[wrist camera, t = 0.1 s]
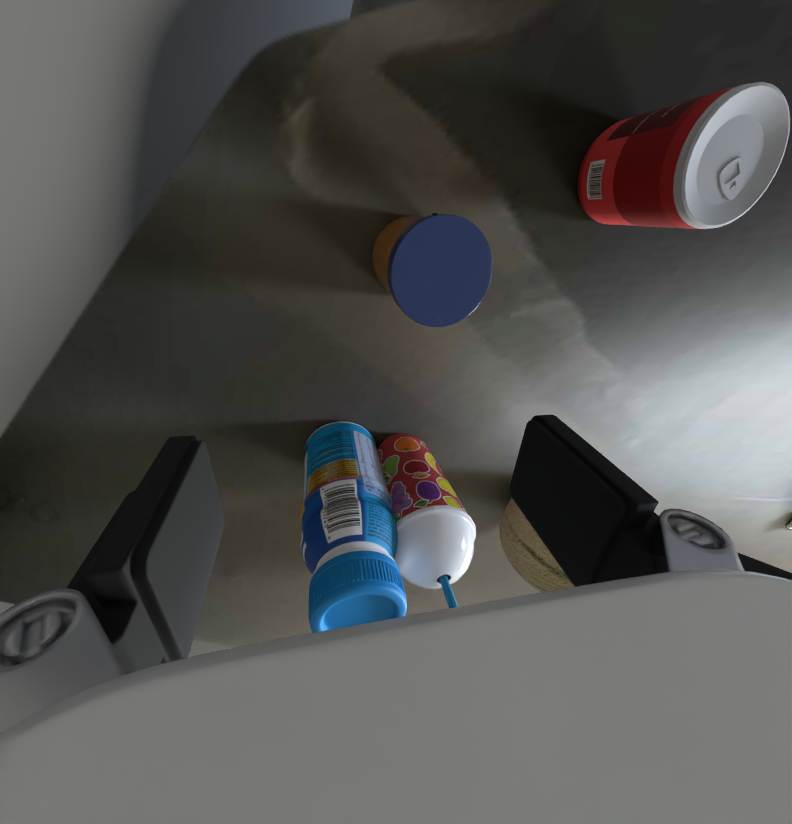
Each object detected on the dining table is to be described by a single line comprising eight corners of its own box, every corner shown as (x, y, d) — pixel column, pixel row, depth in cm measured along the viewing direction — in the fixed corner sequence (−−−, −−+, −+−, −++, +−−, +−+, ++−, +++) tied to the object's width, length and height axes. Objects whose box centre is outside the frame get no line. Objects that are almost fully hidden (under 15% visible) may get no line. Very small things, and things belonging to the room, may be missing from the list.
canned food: (602, 241, 35) (708, 253, 26) (557, 181, 32) (661, 169, 22) (666, 169, 33) (806, 153, 24) (625, 96, 29) (771, 43, 20)
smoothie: (399, 489, 46) (450, 655, 29) (350, 459, 42) (375, 630, 25) (445, 446, 44) (529, 597, 27) (398, 410, 40) (462, 559, 23)
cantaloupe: (473, 482, 48) (531, 581, 35) (572, 440, 48) (667, 524, 35) (493, 546, 56) (547, 646, 43) (579, 509, 56) (659, 599, 43)
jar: (366, 222, 30) (385, 226, 22) (442, 210, 31) (487, 210, 23) (378, 302, 34) (399, 330, 26) (447, 290, 34) (486, 313, 26)
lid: (379, 221, 23) (383, 222, 22) (483, 205, 24) (493, 205, 22) (394, 329, 27) (398, 335, 25) (483, 312, 27) (491, 317, 26)
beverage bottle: (389, 433, 41) (444, 591, 24) (355, 486, 44) (382, 660, 27) (323, 406, 38) (331, 567, 21) (290, 465, 40) (273, 649, 23)
